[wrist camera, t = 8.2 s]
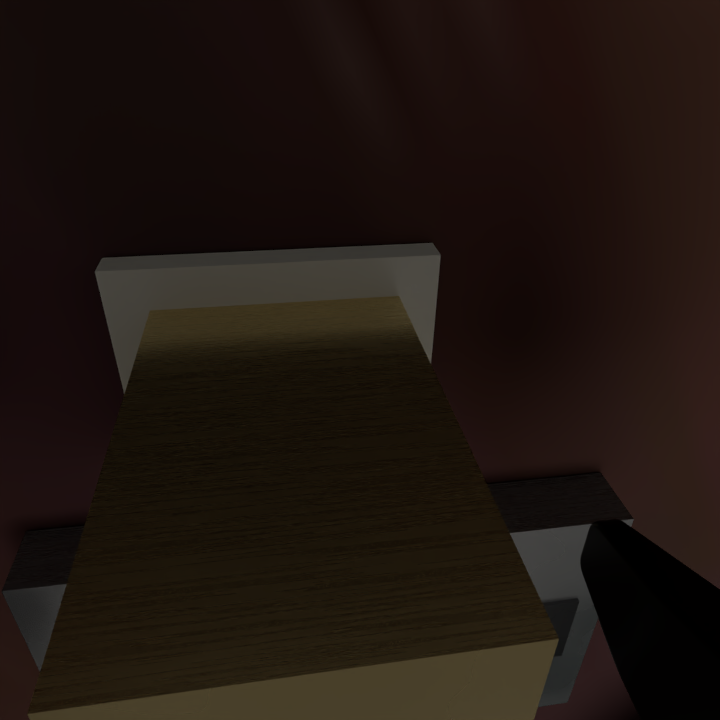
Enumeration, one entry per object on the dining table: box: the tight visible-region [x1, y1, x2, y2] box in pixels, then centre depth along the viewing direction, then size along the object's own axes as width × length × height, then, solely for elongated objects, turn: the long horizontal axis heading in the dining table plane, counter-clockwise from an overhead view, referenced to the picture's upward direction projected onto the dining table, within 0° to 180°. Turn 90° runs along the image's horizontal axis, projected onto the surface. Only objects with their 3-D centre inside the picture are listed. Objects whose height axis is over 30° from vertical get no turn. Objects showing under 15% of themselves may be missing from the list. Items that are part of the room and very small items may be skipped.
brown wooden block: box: [27, 296, 559, 720], centre depth 9 cm, size 4×4×7 cm
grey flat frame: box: [2, 473, 634, 707], centre depth 16 cm, size 14×8×2 cm, turn 89°
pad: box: [95, 243, 441, 394], centre depth 12 cm, size 6×6×1 cm
